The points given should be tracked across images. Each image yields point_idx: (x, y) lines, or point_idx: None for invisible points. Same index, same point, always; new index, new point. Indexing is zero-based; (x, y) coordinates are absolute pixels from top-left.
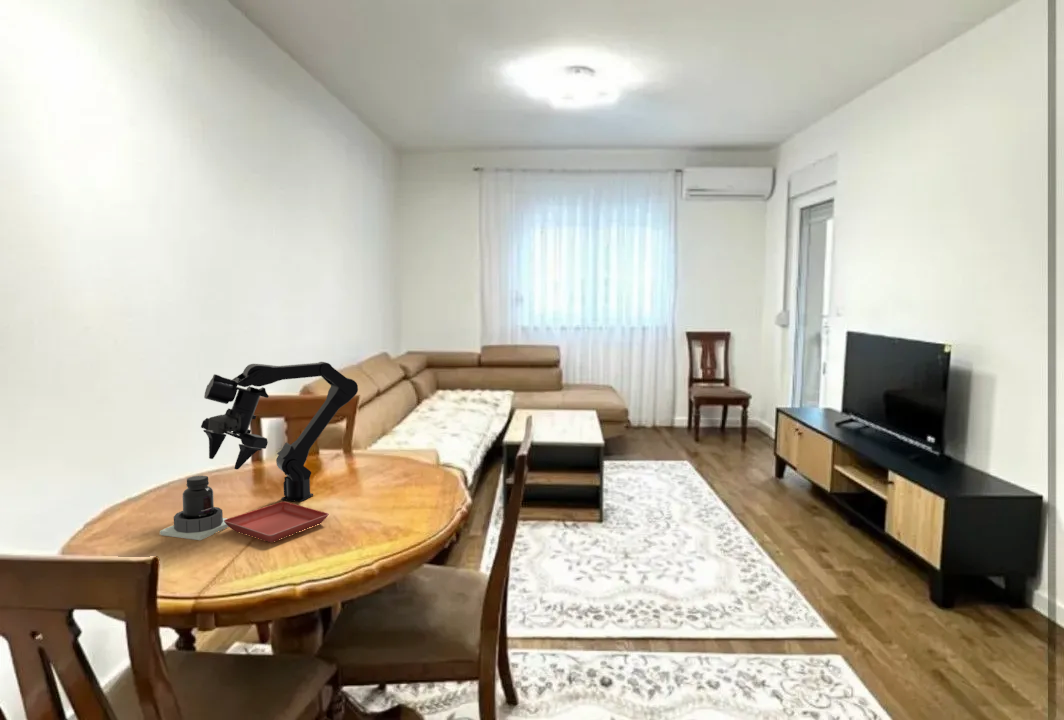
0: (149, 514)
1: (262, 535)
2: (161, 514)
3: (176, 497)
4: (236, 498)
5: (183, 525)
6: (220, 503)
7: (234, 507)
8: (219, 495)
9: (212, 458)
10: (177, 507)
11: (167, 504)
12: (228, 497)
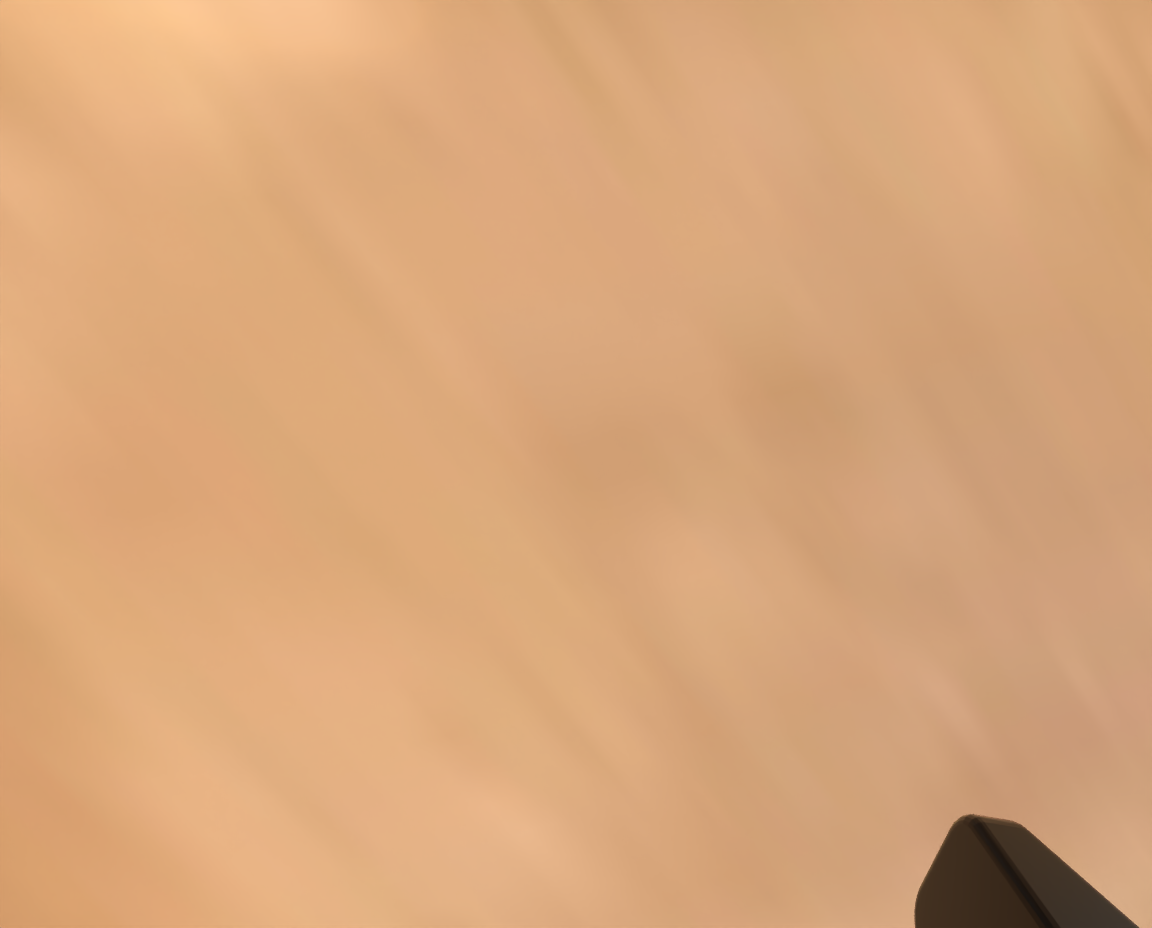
0: (1104, 72)
1: None
2: (979, 96)
3: (1149, 678)
4: (463, 887)
5: None
6: (537, 657)
7: (221, 571)
8: (747, 899)
9: (926, 897)
10: (951, 378)
11: (1111, 446)
12: (592, 880)
